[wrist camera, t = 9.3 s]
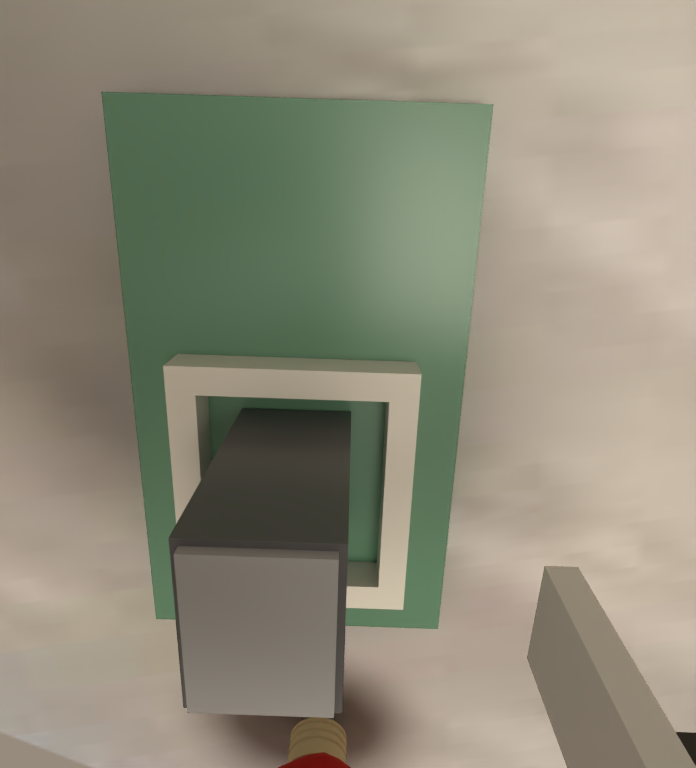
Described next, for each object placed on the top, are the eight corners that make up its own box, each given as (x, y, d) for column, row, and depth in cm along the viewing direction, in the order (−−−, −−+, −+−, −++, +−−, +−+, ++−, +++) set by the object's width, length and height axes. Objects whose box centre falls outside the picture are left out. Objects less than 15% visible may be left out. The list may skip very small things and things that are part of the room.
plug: (241, 408, 19) (163, 545, 11) (351, 411, 19) (348, 552, 11) (246, 547, 21) (182, 748, 13) (346, 551, 21) (340, 753, 13)
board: (118, 99, 17) (77, 80, 15) (484, 111, 17) (506, 94, 15) (165, 599, 24) (142, 646, 21) (433, 608, 24) (443, 657, 21)
